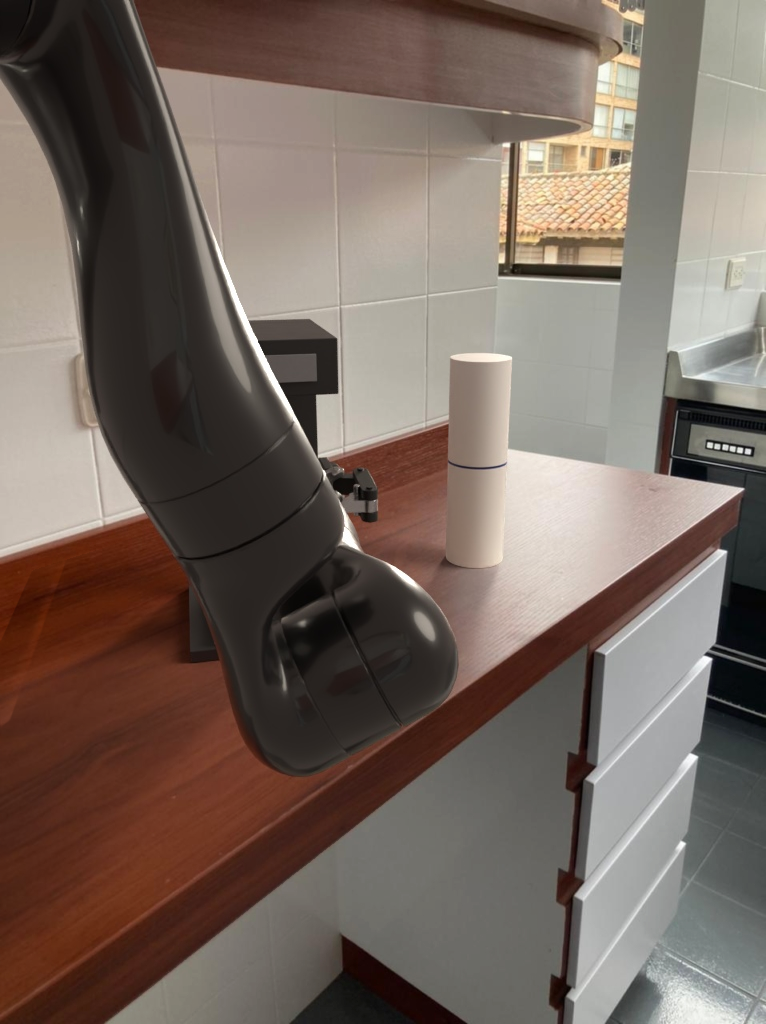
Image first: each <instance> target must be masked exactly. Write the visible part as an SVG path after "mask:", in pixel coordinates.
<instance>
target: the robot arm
mask: <svg viewBox="0 0 766 1024" xmlns="http://www.w3.org/2000/svg"><path fill="white" fill-rule="evenodd" d="M0 82H1V83H2V84H3V86H4V88H5V89H6V90H7V91H8V93H9V95H10V96H11V98H12V99H13V101H14V102H15V104H16V106H17V107H18V109H19V110H20V112H21V114H22V116H23V117H24V119H25V120H26V122H27V124H28V125H29V127H30V130H31V131H32V133H33V135H34V137H35V138H36V140H37V142H38V144H39V147H40V149H41V151H42V153H43V156H44V157H45V160H46V162H47V164H48V167H49V169H50V172H51V175H52V177H53V179H54V183H55V185H56V189H57V192H58V196H59V199H60V202H61V207H62V210H63V211H62V212H63V215H64V219H65V223H66V228H67V233H68V236H69V237H68V238H69V243H70V246H71V254H72V255H71V256H72V261H73V269H74V276H75V277H74V278H75V285H76V296H77V304H78V306H77V307H78V316H79V327H80V335H81V344H82V352H83V360H84V368H85V376H86V381H87V387H88V392H89V397H90V401H91V404H92V409H93V412H94V417H95V419H96V423H97V426H98V428H99V431H100V434H101V437H102V439H103V441H104V444H105V446H106V448H107V450H108V453H109V455H110V457H111V459H112V461H113V462H114V464H115V466H116V468H117V470H118V472H119V473H120V475H121V477H122V479H123V480H124V482H125V484H127V487H128V488H129V489H130V491H131V492H132V494H133V495H134V497H135V499H136V500H137V502H138V503H139V505H140V506H141V508H142V510H143V511H144V513H145V515H146V516H147V518H148V519H149V521H150V522H151V524H152V525H153V527H154V528H155V530H156V531H157V533H158V534H159V536H160V538H161V539H162V540H163V542H164V544H165V545H166V546H167V548H168V549H169V551H170V552H171V553H172V555H173V558H174V559H175V561H176V562H177V563H178V565H179V566H180V568H181V571H182V572H183V573H184V575H185V577H186V579H187V581H188V584H189V583H190V585H191V586H192V588H193V590H194V592H195V595H196V597H197V599H198V601H199V603H200V606H201V608H202V610H203V613H204V615H205V617H206V620H207V623H208V626H209V628H210V631H211V634H212V637H213V640H214V642H215V646H216V649H217V653H218V656H219V660H218V661H219V663H220V667H221V670H222V676H223V679H224V684H225V687H226V692H227V696H228V700H229V703H230V709H231V712H232V715H233V717H234V720H235V723H236V726H237V729H238V732H239V735H240V736H241V739H242V741H243V743H244V744H245V746H246V748H247V749H248V751H250V753H251V754H252V756H253V757H254V758H255V759H256V760H257V761H258V762H260V763H261V764H262V765H264V766H265V767H267V768H268V769H270V770H272V771H274V772H276V773H279V774H281V775H285V776H287V777H288V776H289V777H293V778H308V777H311V776H315V775H317V774H320V773H322V772H325V771H326V770H328V769H331V768H332V767H334V766H336V765H338V764H340V763H341V762H343V761H345V760H347V759H349V758H351V756H354V755H356V754H358V753H360V752H361V751H364V750H365V749H367V748H369V747H370V746H372V745H375V744H376V743H378V742H380V741H381V740H384V739H386V738H388V737H389V736H391V735H392V734H394V733H396V732H398V731H400V730H401V729H402V727H405V728H406V727H408V726H409V725H411V724H414V723H416V722H417V721H418V720H421V719H422V718H425V717H426V716H428V715H429V714H431V713H433V712H434V711H435V710H437V709H438V708H440V707H441V706H442V705H443V703H445V701H446V700H447V699H448V697H449V696H450V694H451V692H452V691H453V689H454V686H455V684H456V681H457V677H458V671H459V665H460V663H459V662H460V661H459V647H458V644H457V643H458V642H457V639H456V636H455V633H454V631H453V629H452V626H451V624H450V622H449V621H448V617H446V615H445V613H444V611H443V610H442V608H441V607H440V606H439V605H438V603H437V602H436V601H435V600H434V599H433V598H432V596H431V595H430V594H429V593H428V592H427V591H426V590H425V589H424V588H423V587H422V586H421V585H420V584H419V583H418V582H416V581H415V580H414V579H413V578H411V576H409V575H408V574H406V573H405V572H403V571H402V570H401V569H398V568H397V567H396V566H394V565H391V563H389V562H386V561H384V560H382V559H380V558H378V557H375V556H372V555H370V554H368V553H365V551H364V550H363V547H362V546H361V542H360V539H359V534H358V531H357V530H356V527H355V526H354V524H353V521H352V519H351V518H350V516H349V514H353V516H354V517H360V520H361V521H362V522H364V523H367V524H369V523H370V524H371V523H375V522H377V521H379V519H378V518H379V488H378V486H377V484H376V482H375V480H374V478H373V477H372V474H371V473H370V471H369V469H367V468H364V467H360V466H359V467H356V468H353V469H352V473H346V472H345V468H343V467H340V466H339V465H338V463H336V462H334V461H330V460H329V458H328V457H327V456H324V457H318V459H317V457H316V455H315V453H314V451H313V449H312V447H311V445H310V443H309V441H308V439H307V437H306V435H305V433H304V432H303V430H302V428H301V426H300V424H299V422H298V420H297V418H296V416H295V414H294V412H293V410H292V408H291V406H290V404H289V403H288V401H287V399H286V397H285V395H284V393H283V391H282V389H281V387H280V385H279V384H278V382H277V380H276V378H275V376H274V374H273V372H272V370H271V368H270V366H269V364H268V362H267V360H266V358H265V356H264V354H263V351H262V349H261V347H260V345H259V343H258V341H257V339H256V337H255V335H254V333H253V331H252V329H251V326H250V324H249V322H248V318H247V315H246V313H245V310H244V308H243V306H242V304H241V301H240V299H239V295H238V294H237V292H236V289H235V286H234V284H233V281H232V278H231V276H230V273H229V270H228V268H227V265H226V263H225V261H224V257H223V255H222V253H221V250H220V247H219V244H218V241H217V239H216V236H215V233H214V230H213V228H212V225H211V222H210V219H209V216H208V214H207V210H206V207H205V205H204V202H203V198H202V195H201V192H200V190H199V186H198V183H197V181H196V177H195V175H194V171H193V169H192V165H191V163H190V159H189V157H188V153H187V151H186V148H185V145H184V142H183V139H182V137H181V133H180V130H179V128H178V124H177V121H176V119H175V115H174V112H173V110H172V106H171V103H170V101H169V97H168V95H167V92H166V89H165V87H164V84H163V81H162V78H161V75H160V73H159V69H158V67H157V65H156V62H155V58H154V55H153V53H152V50H151V48H150V45H149V42H148V39H147V36H146V33H145V30H144V28H143V24H142V21H141V19H140V15H139V12H138V10H137V7H136V4H135V0H0Z"/></svg>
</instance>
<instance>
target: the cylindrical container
mask: <svg viewBox="0 0 766 1024" xmlns="http://www.w3.org/2000/svg"><path fill="white" fill-rule="evenodd" d="M512 367H513V357H512V356H511V355H507V354H502V353H492V352H467V353H457V354H453V355H450V357H449V387H448V388H449V393H448V394H449V396H448V433H447V434H448V435H447V438H448V439H447V475H446V478H447V479H446V522H445V525H446V526H445V559H446V561H448V562H449V563H451V564H452V565H454V566H458V567H462V568H468V569H487V568H491V567H494V566H495V567H496V566H497V565H499V564H501V562H502V561H503V557H504V537H505V535H504V534H505V517H506V516H505V515H506V495H507V474H508V473H507V472H508V456H509V455H508V453H509V429H510V413H511V412H510V411H511V391H512V389H511V387H512V371H513V369H512Z"/></svg>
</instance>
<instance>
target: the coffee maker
mask: <svg viewBox="0 0 766 1024" xmlns="http://www.w3.org/2000/svg"><path fill="white" fill-rule="evenodd" d="M247 320H248V319H247ZM248 322H249V324H250V326H251V329H252V331H253V333H254V335H255V337H256V339H257V341H258V343H259V345H260V347H261V349H262V351H263V354H264V356H265V358H266V360H267V362H268V364H269V366H270V368H271V370H272V372H273V374H274V376H275V378H276V380H277V382H278V384H279V385H280V387H281V389H282V391H283V393H284V395H285V397H286V399H287V401H288V403H289V404H290V406H291V408H292V410H293V412H294V414H295V416H296V418H297V420H298V422H299V424H300V426H301V428H302V430H303V432H304V433H305V435H306V437H307V439H308V441H309V443H310V445H311V447H312V449H313V451H314V453H315V455H316V457H317V459H318V458H319V446H318V445H319V442H318V441H319V440H318V411H317V410H318V409H317V408H318V405H317V396H322V395H339V390H340V389H339V350H338V349H339V348H338V347H339V346H338V337H337V336H335V335H333V334H332V333H331V332H329V331H327V330H326V329H325V328H323V326H320V325H319V324H317V323H316V322H315V321H313V320H312V319H310V318H294V319H293V318H289V319H288V318H287V319H255V320H254V319H253V320H248ZM188 608H189V609H188V613H189V614H188V615H189V656H190V663H192V664H193V663H202V662H213V661H220V660H219V656H218V653H217V649H216V646H215V642H214V640H213V637H212V634H211V631H210V628H209V626H208V623H207V620H206V617H205V615H204V613H203V610H202V608H201V606H200V603H199V601H198V599H197V597H196V595H195V592H194V590H193V588H192V586H191V585H190V583H189V582H188Z"/></svg>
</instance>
